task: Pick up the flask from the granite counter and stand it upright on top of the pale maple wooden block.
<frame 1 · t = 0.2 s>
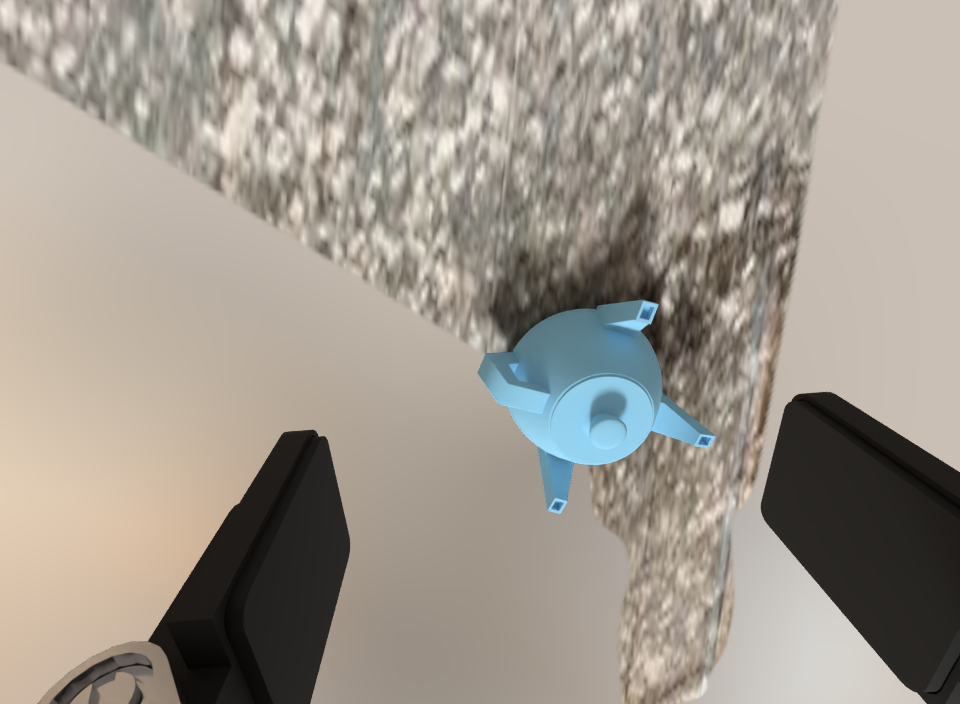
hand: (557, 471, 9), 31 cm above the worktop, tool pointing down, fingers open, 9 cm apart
teapot: (575, 371, 44), on the worktop
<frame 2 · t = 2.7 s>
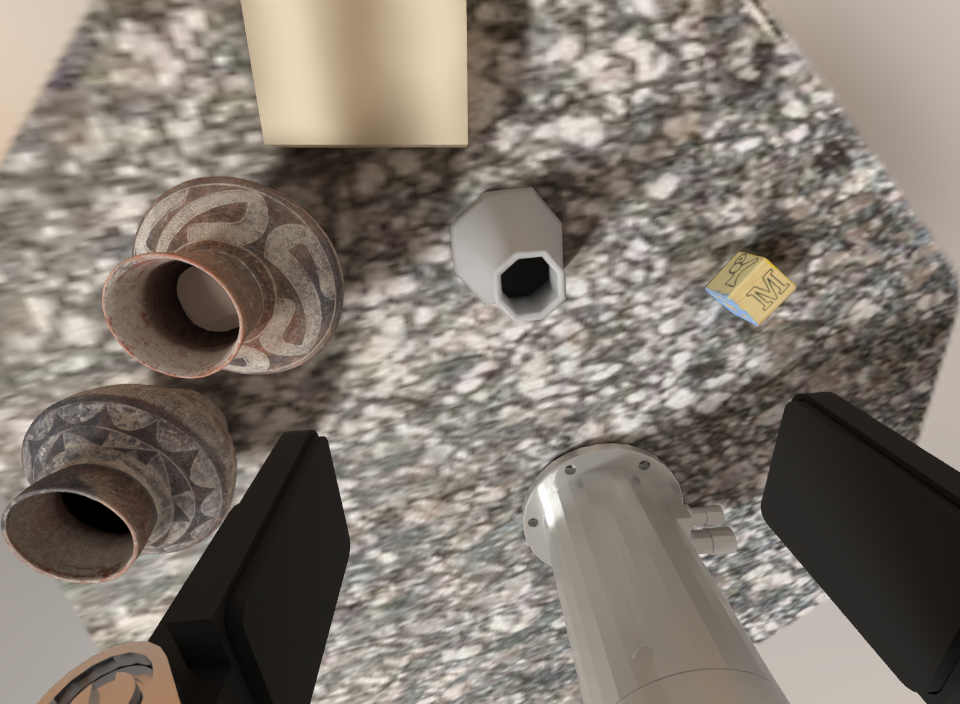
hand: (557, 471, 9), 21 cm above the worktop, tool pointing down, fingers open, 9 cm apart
pottery: (231, 348, 30), on the worktop
maple block: (372, 45, 24), on the worktop
alphabet block: (733, 281, 30), on the worktop
flask: (506, 247, 29), on the worktop
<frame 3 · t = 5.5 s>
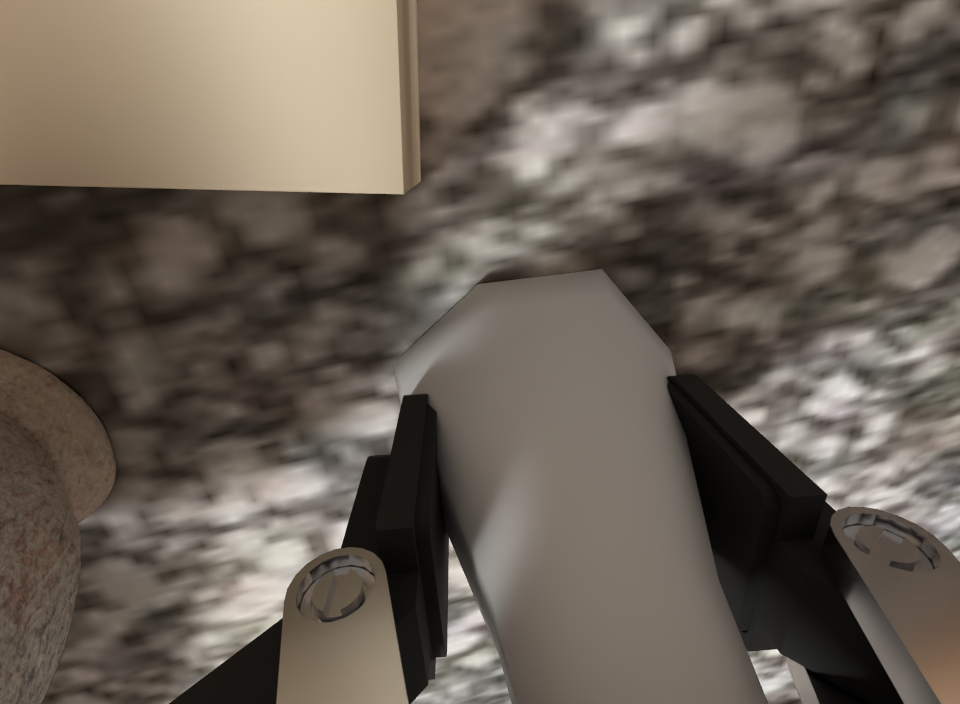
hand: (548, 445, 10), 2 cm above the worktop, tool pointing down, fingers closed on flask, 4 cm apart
flask: (533, 398, 12), on the worktop, touching gripper
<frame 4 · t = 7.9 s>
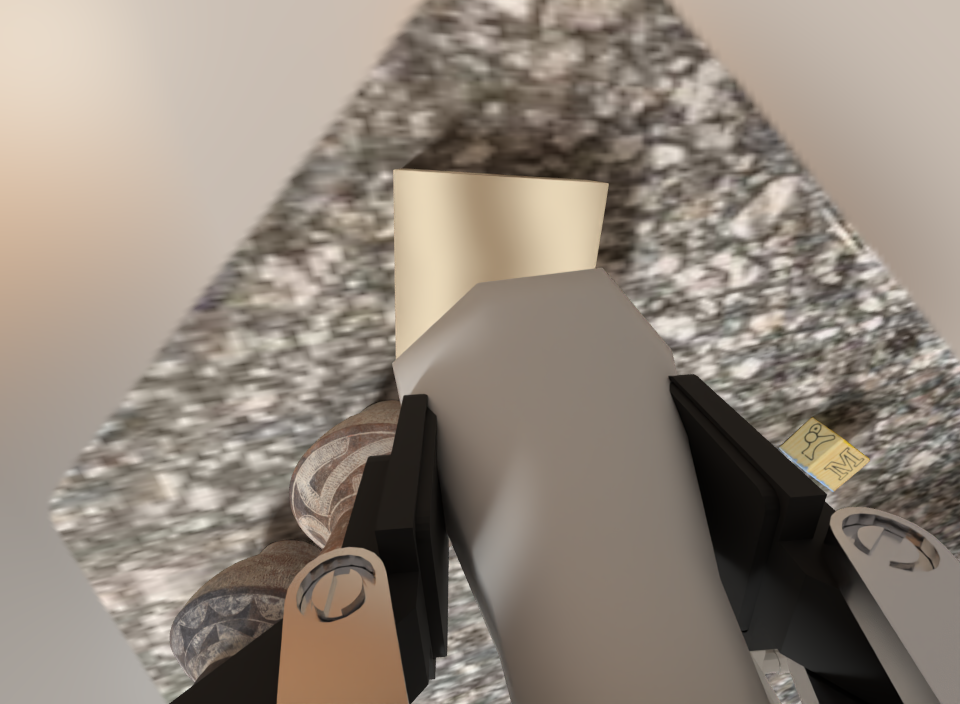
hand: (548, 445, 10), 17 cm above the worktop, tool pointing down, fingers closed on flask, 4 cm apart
pottery: (340, 506, 33), on the worktop
maple block: (489, 265, 27), on the worktop
alphabet block: (804, 439, 33), on the worktop
flask: (533, 397, 12), point 15 cm above the worktop, touching gripper
when the fingers open (7 cm above the worktop, at t = 10.6 s): flask drops 1 cm, resting on maple block.
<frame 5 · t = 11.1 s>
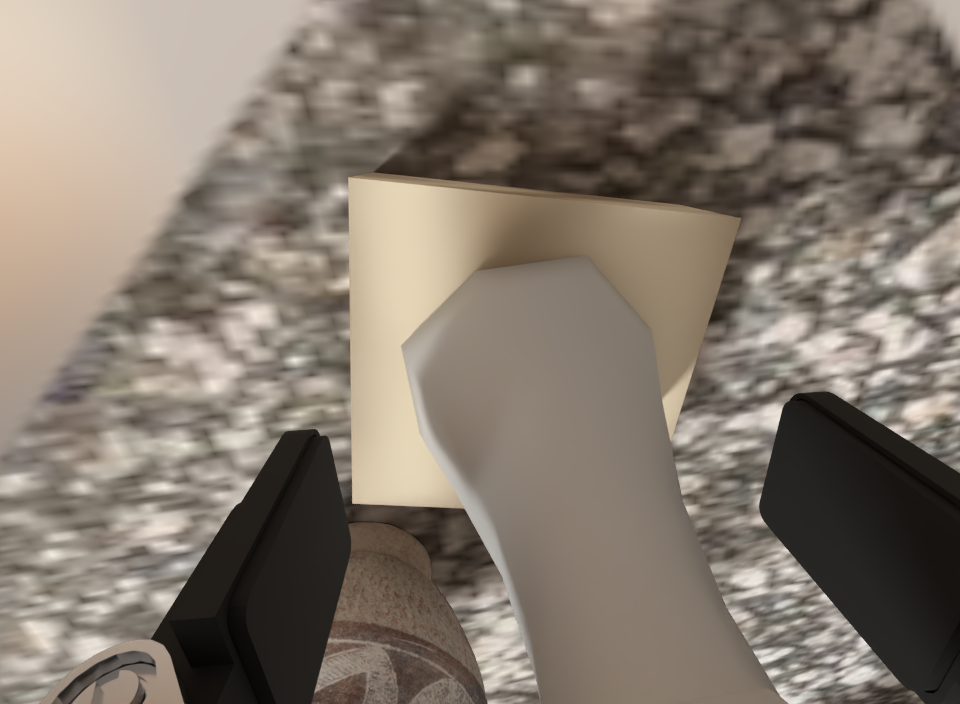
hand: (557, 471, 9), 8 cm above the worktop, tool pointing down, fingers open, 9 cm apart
pottery: (293, 652, 23), on the worktop
maple block: (509, 329, 17), on the worktop, touching flask
flask: (529, 376, 13), point 3 cm above the worktop, touching maple block
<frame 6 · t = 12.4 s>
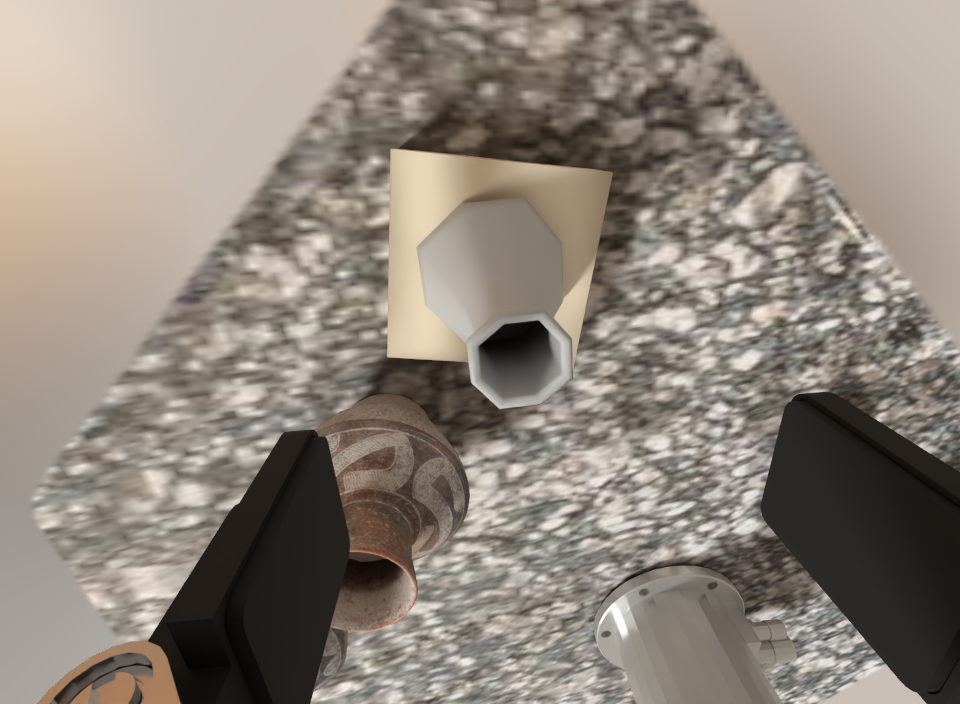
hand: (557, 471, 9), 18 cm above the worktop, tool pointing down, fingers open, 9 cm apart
pottery: (332, 501, 32), on the worktop
maple block: (486, 253, 26), on the worktop, touching flask
flask: (491, 271, 22), point 3 cm above the worktop, touching maple block
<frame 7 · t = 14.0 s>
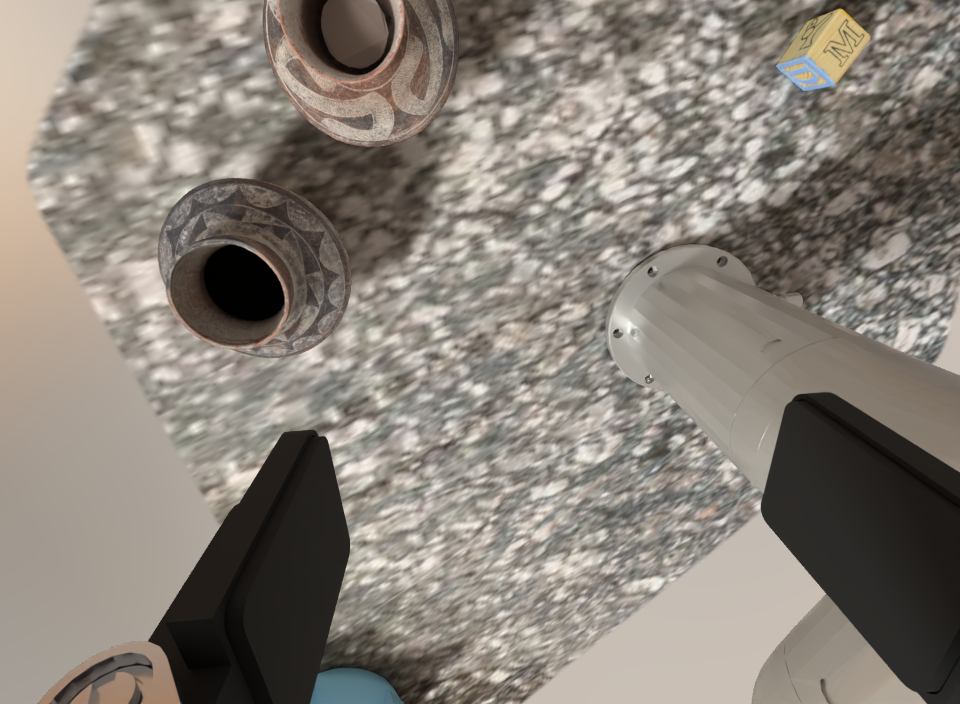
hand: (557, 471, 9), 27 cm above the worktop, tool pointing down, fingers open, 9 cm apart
teapot: (348, 695, 56), on the worktop
pottery: (327, 168, 32), on the worktop
alphabet block: (802, 57, 31), on the worktop
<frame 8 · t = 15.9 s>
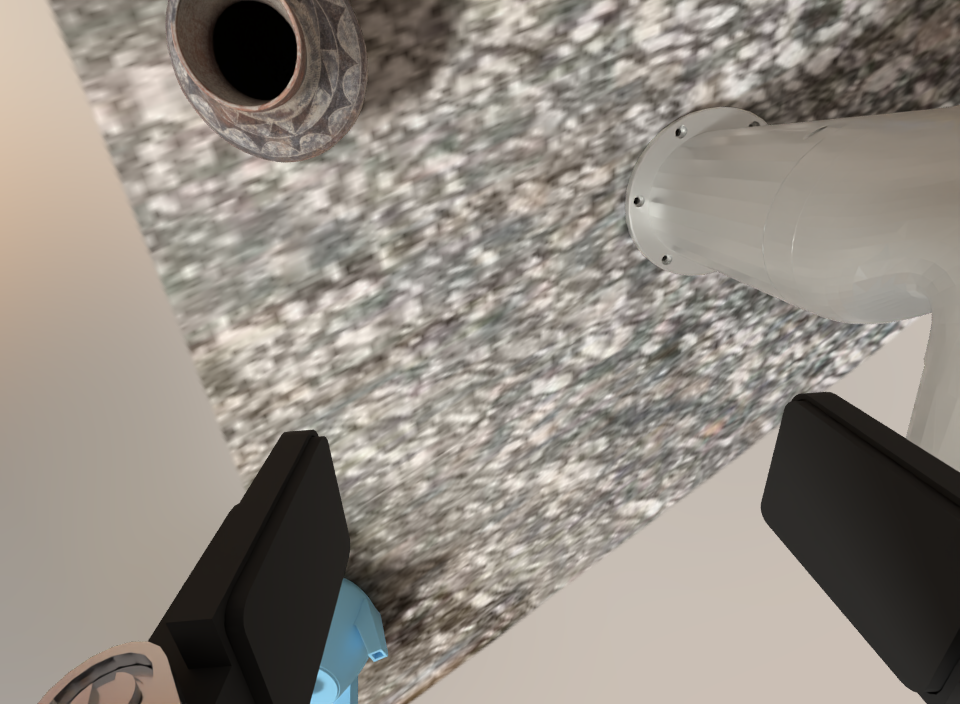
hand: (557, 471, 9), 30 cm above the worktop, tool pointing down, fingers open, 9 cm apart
teapot: (322, 607, 54), on the worktop
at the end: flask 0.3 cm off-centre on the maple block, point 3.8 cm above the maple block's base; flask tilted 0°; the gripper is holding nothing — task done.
